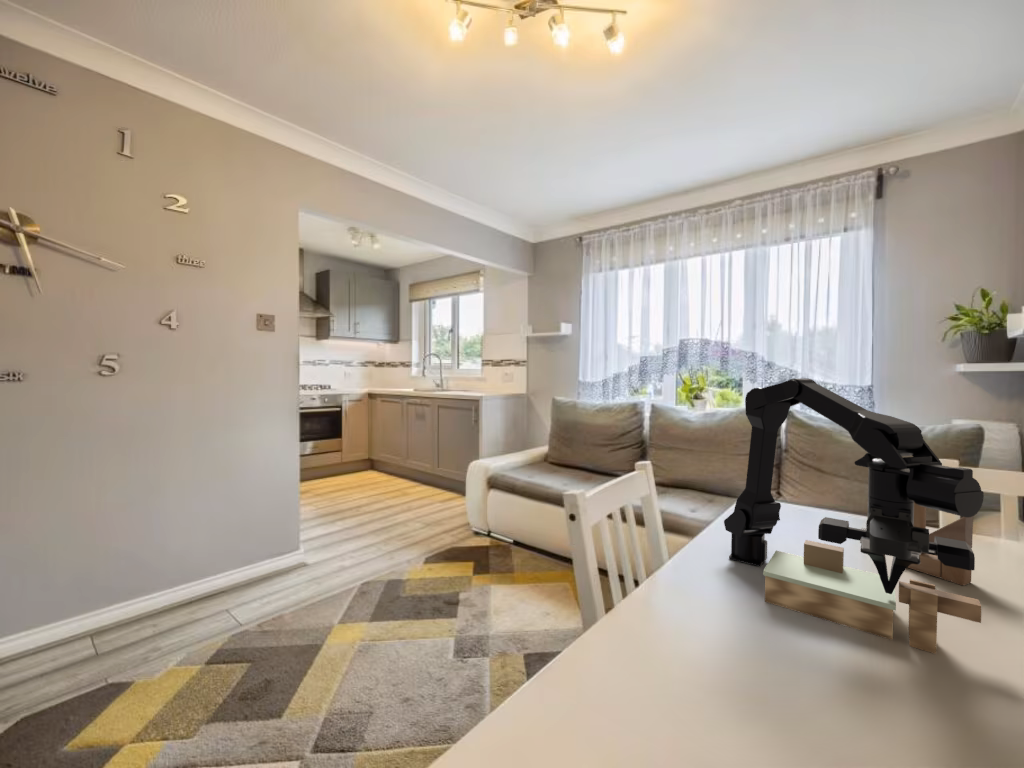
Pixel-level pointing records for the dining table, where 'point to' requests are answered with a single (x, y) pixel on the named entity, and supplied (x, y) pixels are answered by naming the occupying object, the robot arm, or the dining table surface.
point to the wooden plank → (946, 602)
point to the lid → (829, 574)
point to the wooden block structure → (954, 530)
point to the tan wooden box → (861, 610)
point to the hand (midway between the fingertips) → (888, 592)
